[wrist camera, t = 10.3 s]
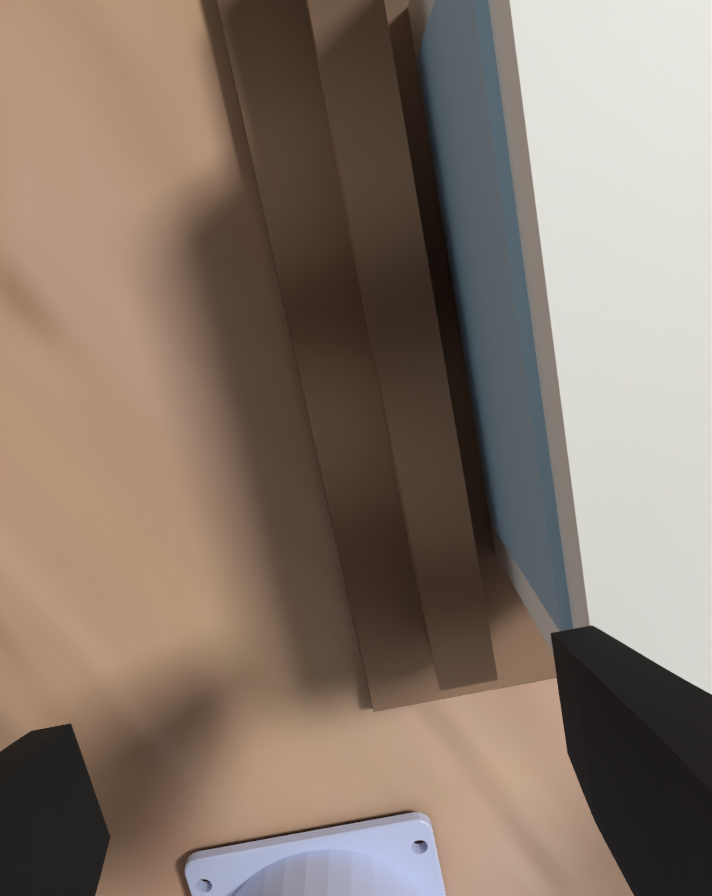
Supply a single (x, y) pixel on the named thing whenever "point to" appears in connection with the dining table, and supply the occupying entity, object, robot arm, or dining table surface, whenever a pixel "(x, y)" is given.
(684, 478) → the white rectangular box
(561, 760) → the dining table surface
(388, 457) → the frame stand
